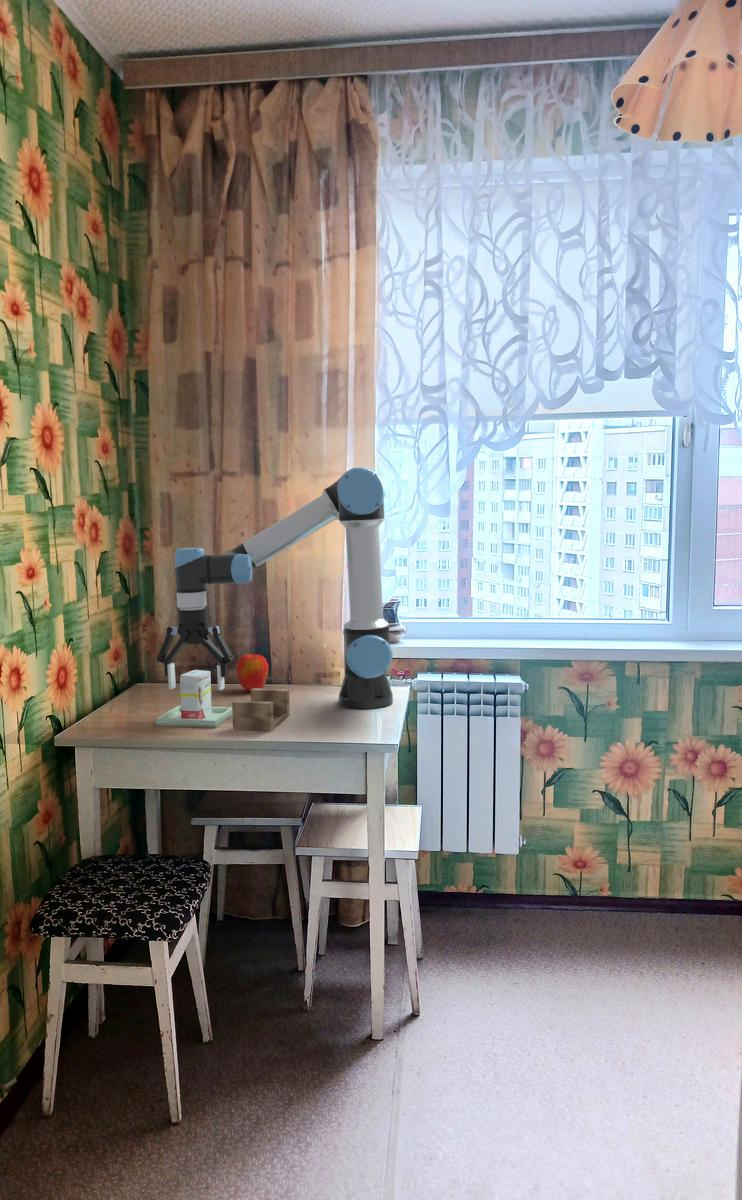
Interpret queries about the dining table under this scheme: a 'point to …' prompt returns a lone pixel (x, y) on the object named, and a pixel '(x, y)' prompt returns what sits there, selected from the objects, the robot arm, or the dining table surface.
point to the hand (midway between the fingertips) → (196, 688)
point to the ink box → (195, 694)
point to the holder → (261, 710)
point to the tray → (210, 721)
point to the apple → (252, 671)
